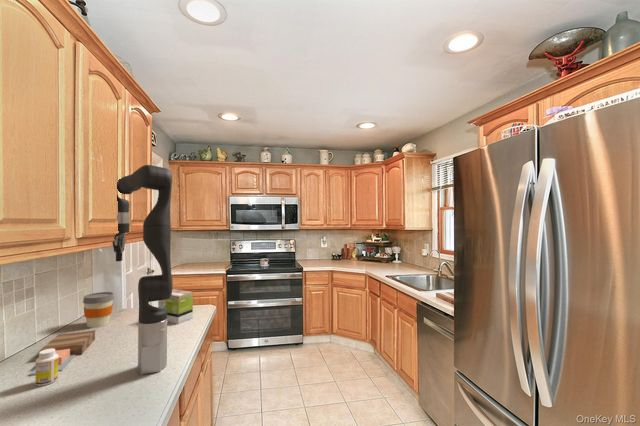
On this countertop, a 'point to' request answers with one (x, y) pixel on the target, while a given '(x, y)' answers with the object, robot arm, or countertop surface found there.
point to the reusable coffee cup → (98, 308)
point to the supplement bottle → (46, 367)
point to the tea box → (178, 306)
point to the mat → (60, 367)
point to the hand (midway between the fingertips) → (119, 261)
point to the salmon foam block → (62, 355)
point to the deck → (72, 342)
